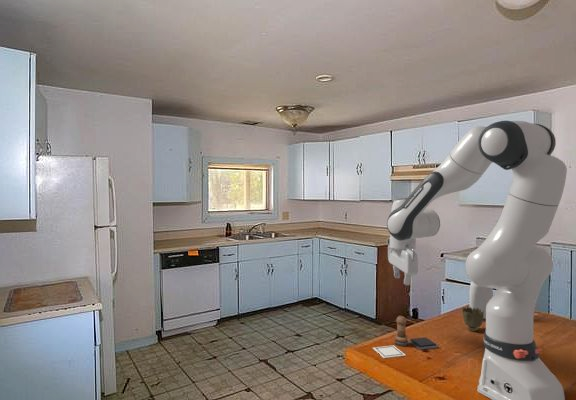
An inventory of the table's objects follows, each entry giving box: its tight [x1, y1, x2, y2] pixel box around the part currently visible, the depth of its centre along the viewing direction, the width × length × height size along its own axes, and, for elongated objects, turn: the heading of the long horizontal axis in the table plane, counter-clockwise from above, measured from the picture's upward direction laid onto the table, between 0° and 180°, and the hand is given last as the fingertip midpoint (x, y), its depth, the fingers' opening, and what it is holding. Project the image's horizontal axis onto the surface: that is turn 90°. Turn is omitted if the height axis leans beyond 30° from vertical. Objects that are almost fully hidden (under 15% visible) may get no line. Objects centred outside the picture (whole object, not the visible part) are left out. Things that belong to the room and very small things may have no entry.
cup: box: [461, 306, 484, 332], centre depth 144 cm, size 8×7×8 cm
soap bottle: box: [468, 280, 494, 320], centre depth 158 cm, size 14×8×27 cm, turn 122°
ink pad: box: [408, 336, 439, 351], centre depth 131 cm, size 7×7×1 cm
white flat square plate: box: [372, 344, 407, 359], centre depth 125 cm, size 8×8×1 cm
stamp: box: [394, 315, 409, 347], centre depth 131 cm, size 4×4×10 cm
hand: (401, 281), depth 135 cm, fingers open, 8 cm apart
